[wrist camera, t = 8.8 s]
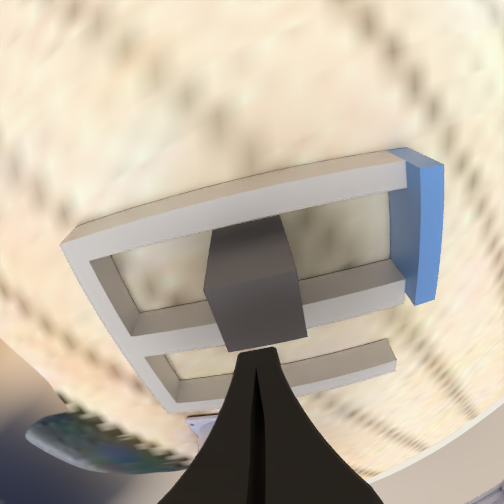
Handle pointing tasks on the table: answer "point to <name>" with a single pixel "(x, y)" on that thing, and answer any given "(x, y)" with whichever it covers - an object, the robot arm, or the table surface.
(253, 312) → the dark gray block
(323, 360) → the grey blue slatted frame
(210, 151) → the table surface
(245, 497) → the robot arm
